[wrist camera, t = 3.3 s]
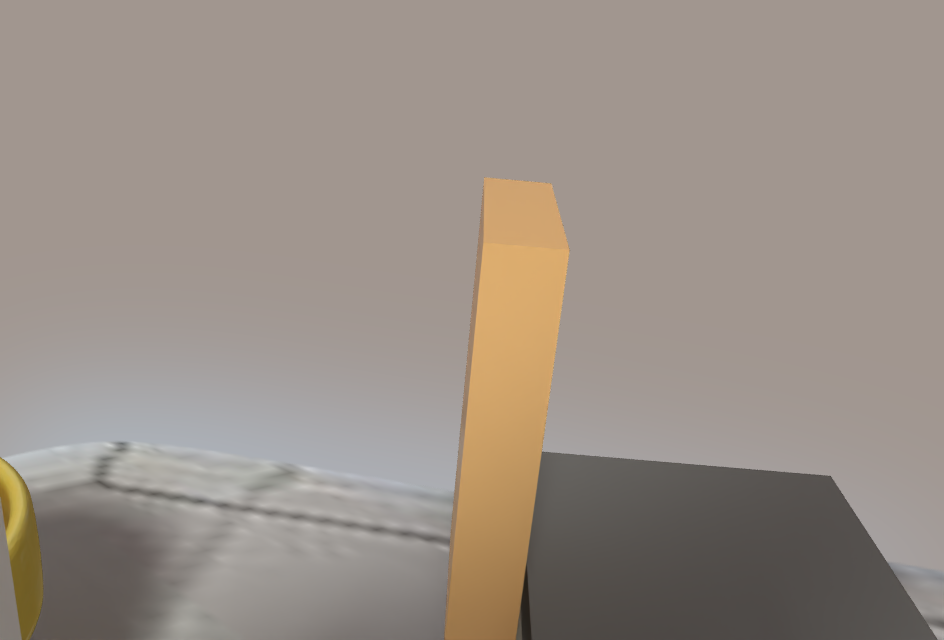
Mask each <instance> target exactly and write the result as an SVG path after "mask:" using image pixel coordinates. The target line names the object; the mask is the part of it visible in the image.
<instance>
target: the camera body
mask: <svg viewBox="0 0 944 640" xmlns="http://www.w3.org/2000/svg"><path fill="white" fill-rule="evenodd" d="M516 640H937V638H936V637H935V635H934V633H933V632H932V630H931V629H930V627H929V626H928V624H927V623H926V621H925V620H924V618H923V617H922V615H921V614H920V612H919V611H918V609H917V607H916V606H915V604H914V603H913V601H912V600H911V598H910V597H909V595H908V594H907V592H906V591H905V589H904V588H903V586H902V585H901V583H900V581H899V580H898V578H897V577H896V575H895V574H894V572H893V571H892V569H891V568H890V566H889V565H888V563H887V562H886V560H885V559H884V557H883V556H882V554H881V553H880V551H879V549H878V548H877V546H876V545H875V543H874V542H873V540H872V539H871V537H870V536H869V534H868V533H867V531H866V529H865V528H864V526H863V525H862V523H861V522H860V520H859V519H858V517H857V516H856V514H855V513H854V511H853V510H852V508H851V507H850V505H849V504H848V502H847V500H846V499H845V498H844V496H843V494H842V493H841V491H840V490H839V488H838V487H837V485H836V484H835V482H834V481H833V479H832V477H831V476H823V475H811V474H800V473H786V472H776V471H764V470H751V469H740V468H728V467H716V466H705V465H693V464H681V463H669V462H657V461H644V460H633V459H622V458H621V459H620V458H609V457H598V456H585V455H574V454H561V453H550V452H542V453H541V461H540V468H539V475H538V482H537V489H536V497H535V504H534V511H533V518H532V526H531V533H530V540H529V547H528V554H527V562H526V569H525V576H524V583H523V591H522V598H521V605H520V612H519V619H518V627H517V634H516Z"/></svg>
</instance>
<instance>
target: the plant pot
mask: <svg viewBox="0 0 944 640" xmlns="http://www.w3.org/2000/svg"><path fill="white" fill-rule="evenodd" d="M0 498H1V504H2V511H3V518H4V525H5V531H6V538H7V545H8V551H9V558H10V565H11V571H12V578H13V585H14V591H15V598H16V605H17V611H18V618H19V625H20V632H21V638H22V640H29V639H30V637H31V635H32V634H33V632H34V629H35V626H36V624H37V621H38V618H39V615H40V611H41V606H42V601H43V573H42V562H41V552H40V545H39V537H38V531H37V525H36V519H35V513H34V508H33V504H32V500H31V496H30V492H29V490H28V487H27V485H26V484H25V482H24V480H23V479H22V477H21V476H20V474H19V473H18V472H17V471H16V470H15V469H14V468H13V467H12V466H11V465H10V464H9V463H8V462H7V461H5V460H4V459H2V458H1V457H0Z"/></svg>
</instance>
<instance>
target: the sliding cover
mask: <svg viewBox="0 0 944 640" xmlns="http://www.w3.org/2000/svg"><path fill="white" fill-rule="evenodd" d="M480 218H481V219H480V228H479V239H478V249H477V260H476V270H475V281H474V291H473V302H472V312H471V323H470V334H469V344H468V355H467V365H466V376H465V386H464V397H463V407H462V408H463V409H462V418H461V429H460V440H459V450H458V460H457V471H456V482H455V492H454V502H453V513H452V524H451V536H450V552H449V568H448V584H447V600H446V616H445V632H444V640H516V634H517V627H518V619H519V612H520V605H521V598H522V591H523V583H524V576H525V569H526V562H527V554H528V547H529V540H530V533H531V526H532V518H533V511H534V504H535V497H536V489H537V482H538V475H539V468H540V461H541V453H542V446H543V439H544V431H545V424H546V417H547V410H548V402H549V395H550V388H551V381H552V373H553V365H554V359H555V352H556V344H557V337H558V330H559V323H560V316H561V308H562V302H563V293H564V287H565V280H566V273H567V265H568V258H569V251H570V250H569V246H568V243H567V239H566V235H565V232H564V228H563V224H562V221H561V217H560V214H559V210H558V206H557V202H556V199H555V195H554V192H553V188H552V184H551V183H540V182H529V181H518V180H507V179H495V178H484V186H483V196H482V207H481V217H480Z"/></svg>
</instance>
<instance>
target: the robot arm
mask: <svg viewBox="0 0 944 640" xmlns="http://www.w3.org/2000/svg"><path fill="white" fill-rule="evenodd" d="M0 640H22V638H21V632H20V625H19V618H18V611H17V605H16V598H15V591H14V585H13V578H12V571H11V565H10V558H9V551H8V545H7V538H6V531H5V525H4V518H3V511H2V504H1V498H0Z"/></svg>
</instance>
